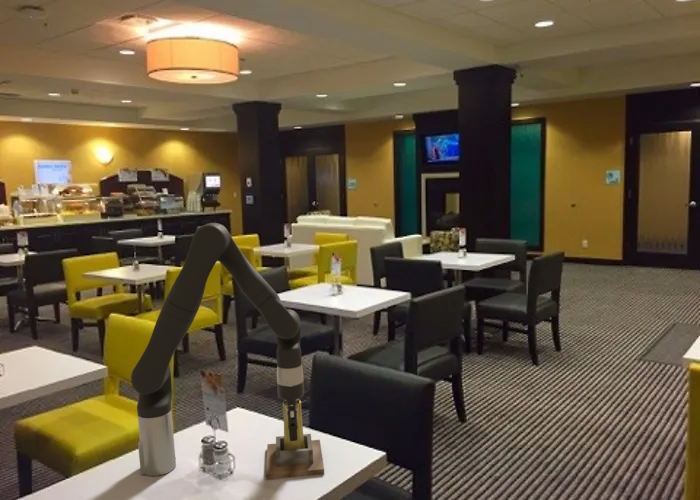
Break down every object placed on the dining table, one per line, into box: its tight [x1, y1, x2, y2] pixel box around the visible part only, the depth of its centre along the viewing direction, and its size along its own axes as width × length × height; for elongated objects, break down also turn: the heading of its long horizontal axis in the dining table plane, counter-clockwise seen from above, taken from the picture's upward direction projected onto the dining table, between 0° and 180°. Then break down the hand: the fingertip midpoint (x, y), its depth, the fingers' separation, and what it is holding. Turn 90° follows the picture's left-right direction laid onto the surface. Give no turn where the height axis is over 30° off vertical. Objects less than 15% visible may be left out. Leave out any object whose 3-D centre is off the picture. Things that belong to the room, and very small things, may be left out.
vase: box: [282, 398, 305, 450], centre depth 170 cm, size 6×6×14 cm
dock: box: [265, 433, 325, 481], centre depth 171 cm, size 16×18×6 cm
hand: (293, 435), depth 170 cm, fingers closed on vase, 5 cm apart
